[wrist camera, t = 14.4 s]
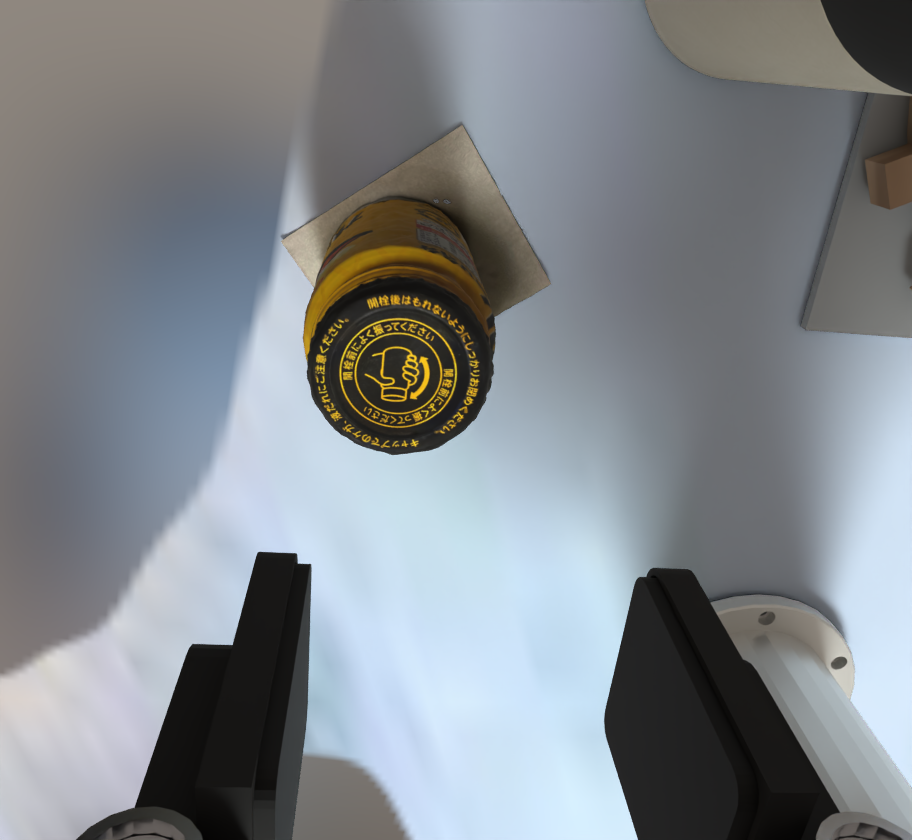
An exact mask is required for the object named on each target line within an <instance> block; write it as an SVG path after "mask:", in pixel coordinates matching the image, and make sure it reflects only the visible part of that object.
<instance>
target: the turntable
mask: <svg viewBox="0 0 912 840" xmlns="http://www.w3.org/2000/svg"><path fill="white" fill-rule="evenodd" d="M865 165H866V172H867V180H868V187H869V195H870V202H871V204H874V205H877V206H880V207H883V208H886V209H889V210H891V209H894V208H897V207H899V206H902V205H905V204H907V203H910V202H912V96H910V102H909V114H908V126H907V144H905V145H903V146H900V147H897V148H895V149H892V150H889V151H887V152H884V153H881V154H879V155H876V156H874V157H871V158H868V159H866V160H865ZM910 289H911V290H912V286H911V287H910Z"/></svg>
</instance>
